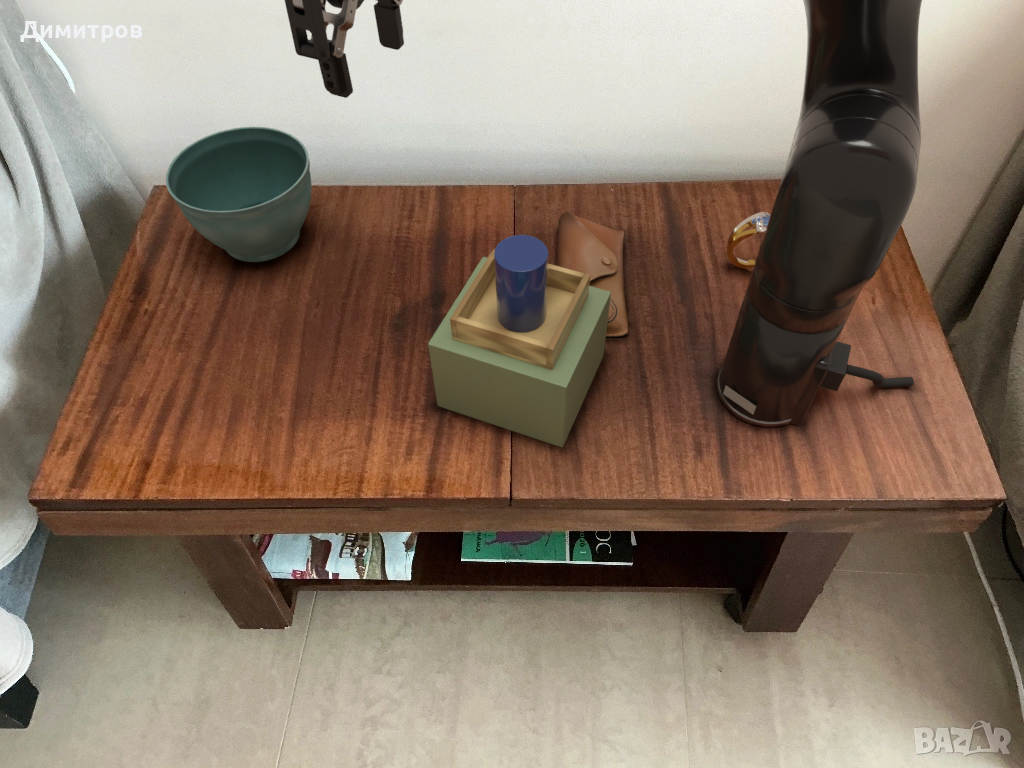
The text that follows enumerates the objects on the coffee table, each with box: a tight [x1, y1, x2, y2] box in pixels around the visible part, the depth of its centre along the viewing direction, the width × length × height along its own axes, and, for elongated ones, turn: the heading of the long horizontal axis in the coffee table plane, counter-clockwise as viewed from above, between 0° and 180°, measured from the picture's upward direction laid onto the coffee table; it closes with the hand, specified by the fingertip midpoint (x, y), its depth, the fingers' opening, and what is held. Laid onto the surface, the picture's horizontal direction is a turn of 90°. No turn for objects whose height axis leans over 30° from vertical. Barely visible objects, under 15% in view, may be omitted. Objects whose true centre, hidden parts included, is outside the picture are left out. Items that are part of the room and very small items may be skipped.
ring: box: [726, 211, 771, 272], centre depth 90 cm, size 7×3×8 cm, turn 86°
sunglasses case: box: [556, 210, 629, 338], centre depth 91 cm, size 18×7×7 cm
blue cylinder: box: [494, 234, 549, 333], centre depth 72 cm, size 5×5×8 cm
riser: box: [427, 256, 611, 448], centre depth 79 cm, size 14×13×10 cm
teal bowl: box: [165, 126, 313, 263], centre depth 94 cm, size 16×16×11 cm
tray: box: [450, 248, 590, 370], centre depth 74 cm, size 10×10×3 cm
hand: (367, 69), depth 69 cm, fingers open, 8 cm apart
